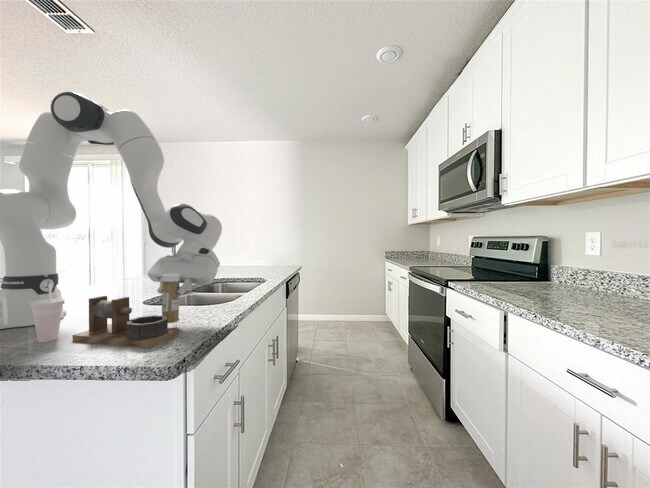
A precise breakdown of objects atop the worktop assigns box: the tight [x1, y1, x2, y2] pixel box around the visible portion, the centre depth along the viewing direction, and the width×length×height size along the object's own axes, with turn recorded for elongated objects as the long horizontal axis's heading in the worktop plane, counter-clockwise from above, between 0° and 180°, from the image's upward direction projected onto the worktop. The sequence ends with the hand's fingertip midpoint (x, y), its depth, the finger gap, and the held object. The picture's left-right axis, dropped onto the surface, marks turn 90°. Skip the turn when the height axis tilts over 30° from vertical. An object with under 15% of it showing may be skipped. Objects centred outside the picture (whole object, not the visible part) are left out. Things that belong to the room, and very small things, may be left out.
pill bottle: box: [161, 273, 181, 324], centre depth 85 cm, size 5×5×13 cm
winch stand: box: [72, 295, 180, 349], centre depth 77 cm, size 22×10×10 cm, turn 78°
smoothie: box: [30, 283, 65, 343], centre depth 75 cm, size 6×6×14 cm
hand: (169, 293), depth 85 cm, fingers closed on pill bottle, 4 cm apart
